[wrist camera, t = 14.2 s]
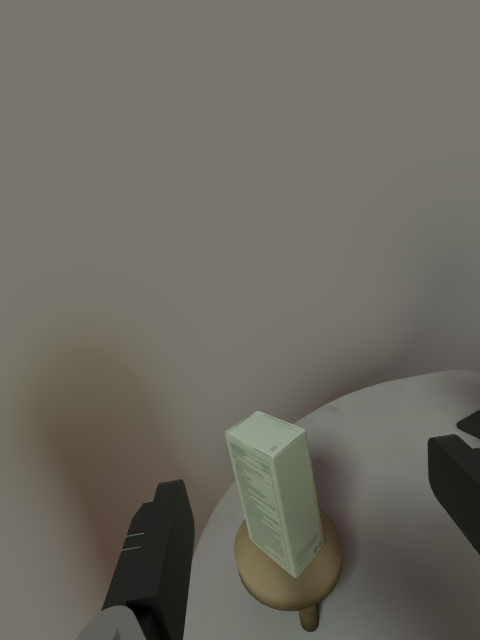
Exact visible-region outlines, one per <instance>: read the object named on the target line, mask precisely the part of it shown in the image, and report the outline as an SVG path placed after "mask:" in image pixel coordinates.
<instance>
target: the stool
mask: <svg viewBox="0 0 480 640" xmlns="http://www.w3.org/2000/svg"><path fill="white" fill-rule="evenodd" d="M319 513H320V519H321V525H322V531H323V537H324V542H325V544H324V546H323V547H322V549H321V550H320V551H319V553H318V554H317V555H316V556H315V557H314V559H313V560H312V561H311V562H310V563H309V565H308V566H307V567H306V568H305V569H304V570H303V572H302V573H301V574H300V575H299V576H298V577H297V578H294V577H293V576H292V575H291V574H289V573H288V572H287V571H286V570H284V569H283V568H282V567H281V566H280V565H279V564H277V563H276V562H275V561H274V560H273V559H272V558H271V557H269V556H268V555H267V554H266V553H265V552H264V551H263V550H261V549H260V548H259V547H258V546H257V545H256V544H255V543H254V542H253V541H252V540H251V539H250V537H249V533H248V528H247V524H246V520H244V521H243V523H242V524H241V526H240V528H239V530H238V532H237V535H236V539H235V546H234V551H235V558H236V563H237V567H238V571H239V575H240V578H241V581H242V583H243V584H244V586H245V588H246V589H247V591H248V592H249V593H250V594H251V595H252V596H253V597H254V598H255V599H256V600H258V601H259V602H260V603H262V604H264V605H266V606H268V607H271V608H273V609H277V610H282V611H299V614H300V620H301V625H302V627H303V628H304V629H305V630H306V631H308V632H313V631H315V630H316V629H317V628H318V625H319V621H318V614H317V607H316V604H318V603H319V602H321V601H322V600H324V599H325V598H326V597H327V596H328V595H329V594H330V593H331V592H332V591H333V589H334V588H335V586H336V584H337V582H338V580H339V578H340V575H341V571H342V550H341V542H340V537H339V533H338V530H337V528H336V526H335V524H334V523H333V521H332V520H331V519H330V517H329V516H328V515H327V514H326V513H325V512H323V511H322V510H321V509H319Z"/></svg>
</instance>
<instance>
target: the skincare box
mask: <svg viewBox="0 0 480 640" xmlns="http://www.w3.org/2000/svg"><path fill="white" fill-rule="evenodd" d="M225 436H226V440H227V444H228V448H229V453H230V457H231V461H232V465H233V469H234V474H235V478H236V482H237V486H238V490H239V495H240V499H241V503H242V507H243V511H244V516H245V520H246V524H247V528H248V533H249V537H250V539H251V540H252V541H253V542H254V543H255V544H256V545H257V546H258V547H259V548H260V549H261V550H263V551H264V552H265V553H266V554H267V555H268V556H269V557H271V558H272V559H273V560H274V561H275V562H276V563H277V564H279V565H280V566H281V567H282V568H283V569H284V570H286V571H287V572H288V573H289V574H291V575H292V576H293V577H294V578H297V577H298V576H299V575H300V574H301V573H302V572H303V570H304V569H305V568H306V567H307V566H308V565H309V563H310V562H311V561H312V560H313V559H314V557H315V556H316V555H317V554H318V553H319V551H320V550H321V549H322V547H323V546H324V544H325V542H324V537H323V531H322V525H321V519H320V513H319V507H318V501H317V494H316V488H315V483H314V477H313V471H312V465H311V459H310V453H309V447H308V441H307V435H306V430H304V429H302V428H299V427H297V426H295V425H292V424H290V423H287V422H285V421H282V420H279V419H277V418H275V417H272V416H270V415H267V414H264V413H262V412H259V411H257V412H255V413H253V414H252V415H250V416H249V417H247V418H246V419H244V420H242V421H241V422H239V423H238V424H236V425H235V426H233V427H232V428H231V429H229V430H227V431H226V432H225Z"/></svg>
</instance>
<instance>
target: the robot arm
mask: <svg viewBox="0 0 480 640" xmlns="http://www.w3.org/2000/svg"><path fill="white" fill-rule="evenodd" d="M428 475H429V482H430V486H431V488H432V491H433V493H434V495H435V497H436V498H437V500H438V501H439V502H440V504H441V505H442V506H443V508H444V509H445V510H446V511H447V513H448V514H449V515H450V517H451V518H452V519H453V521H454V522H455V523H456V525H457V526H458V527H459V529H460V530H461V531H462V532H463V534H464V535H465V536H466V538H467V539H468V540H469V542H470V543H471V544H472V546H473V547H474V548H475V549H476V551H477V552H478V553H479V555H480V448H475V449H472V448H471V447H470V446H469V445H468V444H466V443H465V442H464V441H463V440H462V439H461V438H460V437H459V436H457V435H455V434H451V435H445V436H439V437H433V438H429V440H428ZM194 535H195V529H194V519H193V514H192V510H191V507H190V503H189V499H188V495H187V492H186V488H185V484H184V481H183V480H182V479H180V480H174V481H169V482H163V483H159V484H158V486H157V490H156V493H155V497H154V501H153V502H149V503H143V505H142V506H141V507H140V509H139V510H138V512H137V513H136V514H135V516H134V517H133V519H132V521H131V525H130V527H129V530H128V533H127V538H126V539H125V542H124V545H123V551H122V552H121V554H120V557H119V560H118V563H117V567H116V569H115V572H114V575H113V578H112V581H111V584H110V587H109V590H108V593H107V596H106V599H105V602H104V605H103V608H102V610H101V612H100V613H98V614H97V615H96V616H95V617H93V618H92V619H91V620H90V621H89V622H88V623H87V624H86V625H85V627H84V628H83V630H82V631H81V632H80V634H79V636H78V637H77V640H183V635H184V626H185V617H186V608H187V599H188V590H189V582H190V573H191V564H192V555H193V546H194Z"/></svg>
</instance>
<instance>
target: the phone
mask: <svg viewBox="0 0 480 640" xmlns="http://www.w3.org/2000/svg"><path fill="white" fill-rule="evenodd" d="M457 428H458V429H460V430H462V431H464V432H466V433H468V434H471V435H473V436H475V437H477V438H479V439H480V410H479V411H477V412H475V413H473V414H471V415H470V416H468V417H466V418H464V419H463V420H461V421H459V422H458V423H457Z"/></svg>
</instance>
